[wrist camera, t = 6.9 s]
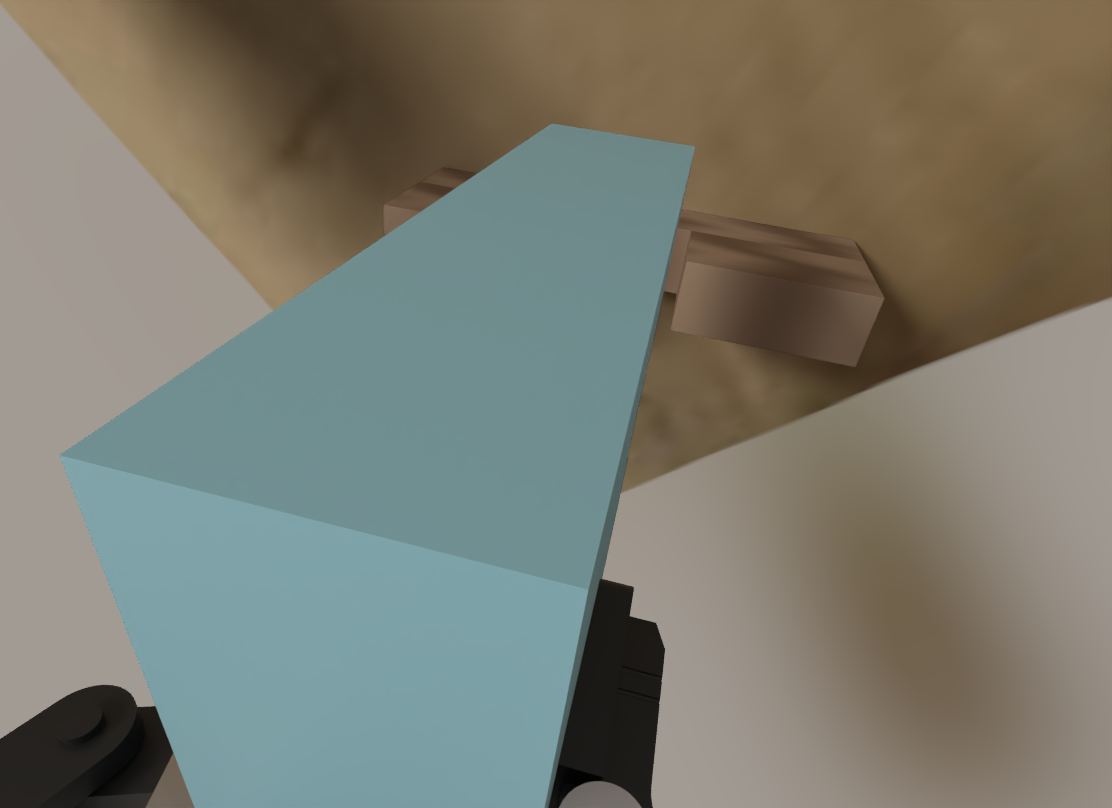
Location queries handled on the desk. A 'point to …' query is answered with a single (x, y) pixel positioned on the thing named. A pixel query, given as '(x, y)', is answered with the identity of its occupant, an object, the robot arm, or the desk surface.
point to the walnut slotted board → (741, 280)
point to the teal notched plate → (397, 495)
